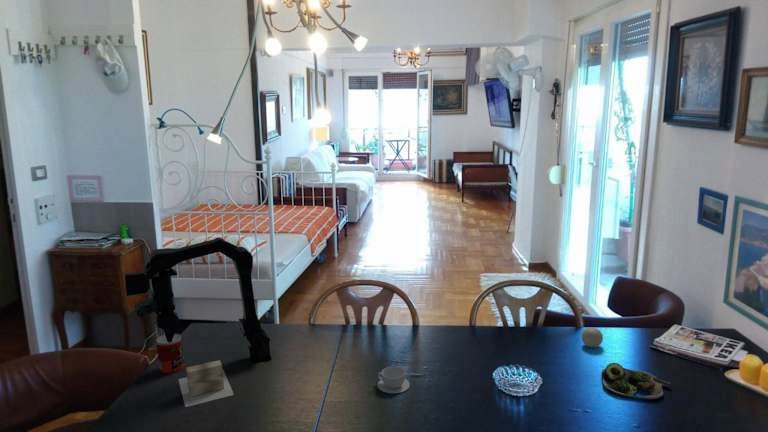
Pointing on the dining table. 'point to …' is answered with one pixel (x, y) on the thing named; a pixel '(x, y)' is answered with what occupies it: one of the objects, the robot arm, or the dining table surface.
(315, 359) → the dining table surface
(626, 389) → the salad plate
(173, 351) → the canned food
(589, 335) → the baseball
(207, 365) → the beech slab
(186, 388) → the white flat tray
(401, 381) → the teacup
